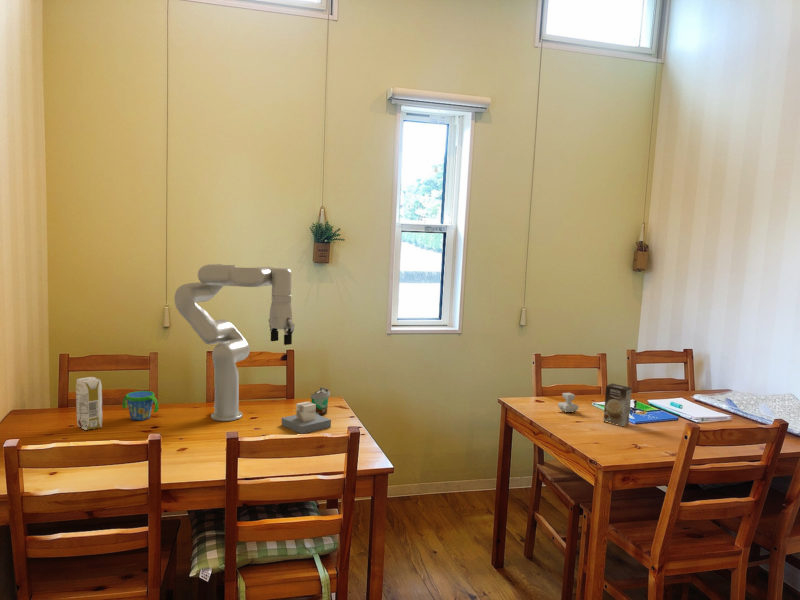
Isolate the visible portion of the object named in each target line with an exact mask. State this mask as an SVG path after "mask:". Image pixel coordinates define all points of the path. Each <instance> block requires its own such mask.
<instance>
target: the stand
mask: <svg viewBox="0 0 800 600" xmlns="http://www.w3.org/2000/svg"><path fill="white" fill-rule="evenodd" d="M282 425H283V427H285V428H288V429H289V430H292V431H293V432H295V433H299V434H300V435H304V434H307V433H313V432H315V431H320V430H325V429H328V428H329V429H330V428H331V427H332V420H331V419H330V418H328V417H326V416H324V415H323V416H320V415H318V414H316V419H314V420H310V421H305V422H304V421H301V420H299V419H297V418H296V414H294V415H288V416H284V417H283V416H282V417H281V426H282Z"/></svg>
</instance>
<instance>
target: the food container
mask: <svg viewBox="0 0 800 600" xmlns="http://www.w3.org/2000/svg"><path fill="white" fill-rule="evenodd" d="M330 396H331V392H330V389H328V388H326V387H322V386H321V387H319V390H316V391H315V392H314V393H310V400H311V401H310V402H311V403H313V404H316V414H318V415H320V416H321V415H323V416H326V415H327V414H328V407H329V406H328V405H329V397H330ZM326 413H327V414H326ZM325 414H326V415H325Z"/></svg>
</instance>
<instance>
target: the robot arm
mask: <svg viewBox="0 0 800 600" xmlns="http://www.w3.org/2000/svg"><path fill="white" fill-rule="evenodd" d="M197 279H198V280H199V281H198V282H188V283H184V284H182V285H180V286H179V287H178V288H177V289H175V292H174V297H173V299H174V306H175V308H176V309H177V311H178V313H179V314H180V315H181V317H183V319H184V320H185V321H186V322H187V323H188V324H189V325H190V326H191V328H192V329H193V330H194V331H195V333H196V334H197V335H198V336H199V338H200V339H201V340H202V342H203V343H204V344H206V345H210V346H211V345H215V346H214V348H213V349H212V352H211V357H212V359H211V360H212V363H213V369H214V404H213V408H214V412H212V413H211V414H210V419H212V420H213V421H217V422H218V421H219V422H230V421H235V420H236V421H237V420H239V419H241V418H243V412H242V411H240V410H239V407H240V406H239V402H240V399H239V398H240V397H239V394H240V391H239V387H240V386H239V382H240V381H239V380H240V379H239V378H240V377H239V376H240V375H239V370H238V368H237V364H236V363H238V362H240V361H244V360H246V359H247V358H248V357H249V355H250V352H251V351H250V350H251V347H250V344H249V342H248V341H247V340H246V338H245V337H244V336H243V334H241V332H240V331H239V330H238V329H237V328H236V327H235V325H234V324H233V323H232V322H230V321H229V320H227V319H216V320H215V319H214V318H213V317H212V316H211V315H210V314H209V312H208V311H207V310H205V309H204V308H203V307H202V306H200V305H199V304H198V303H205V302H208V301H210V300H212V299H213V298H215V296H216V295H217V294H218V293H219V292H220V291H221V290H222V289H223V288H224V286H225V287H242V288H243V287H244V288H259V287H261V288H262V287H269V286H271V303H270V308H269V316H268V317H269V318H268V324H269V331H270V342H277V341H279V330H283V332H284V334H283V345H284V346H287V345H289V346H290V345H292V341H293V338H292V337H293V333H294V328H295V323H294V322H293V311H292V310H293V309H292V270H291V269H290V268H285V267H283V268H281V267H277V268H276V267H272V266H258V267H239V266H237V265H235V264H221V263H213V264H206V265H203V266H201V267H200V268H199V269H198V271H197Z"/></svg>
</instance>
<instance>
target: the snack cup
mask: <svg viewBox="0 0 800 600" xmlns="http://www.w3.org/2000/svg"><path fill="white" fill-rule="evenodd" d="M153 404H154V409H153ZM121 407H122V409H124V410H125V409H127V408H128V413H129V419H130V420H131V419H132V421H139V420H140V421H146V420H148V419H150V417H151V415H152V410H153V413H158V411H159V409H160V405H159V402H158V399H157V397H156V396H155V392H153V391H149V390H137V391H132V392H128V393H127V394H125V395H124V396H123V399H122V403H121ZM145 419H146V420H145Z"/></svg>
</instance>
